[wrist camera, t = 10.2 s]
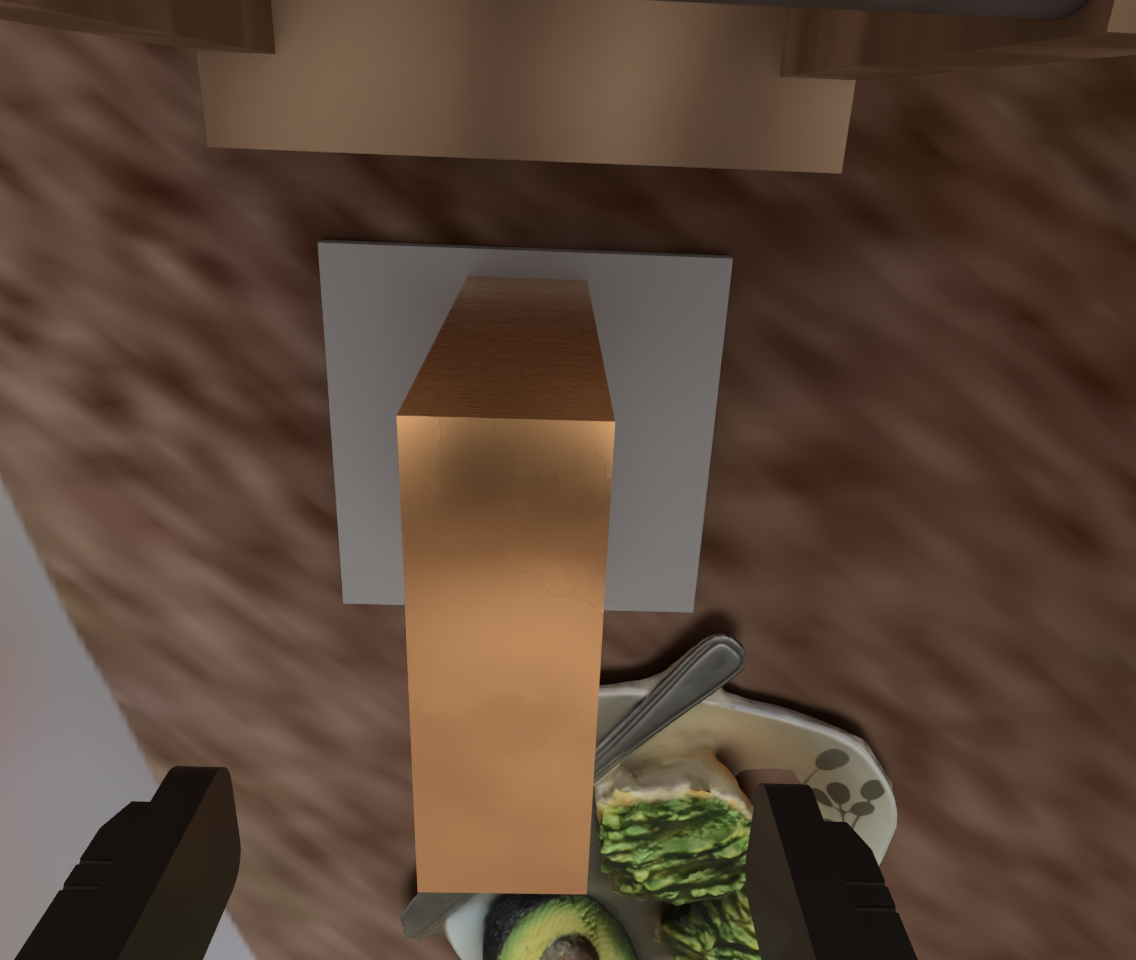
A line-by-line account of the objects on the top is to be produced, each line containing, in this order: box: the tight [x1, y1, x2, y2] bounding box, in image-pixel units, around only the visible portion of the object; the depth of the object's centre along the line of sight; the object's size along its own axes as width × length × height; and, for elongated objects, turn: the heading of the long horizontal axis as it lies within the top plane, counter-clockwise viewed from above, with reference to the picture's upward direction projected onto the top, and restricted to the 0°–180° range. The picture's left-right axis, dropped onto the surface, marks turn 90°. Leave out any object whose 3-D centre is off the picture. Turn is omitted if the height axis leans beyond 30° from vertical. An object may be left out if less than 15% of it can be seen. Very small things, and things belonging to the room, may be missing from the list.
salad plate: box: [400, 634, 898, 960], centre depth 33 cm, size 19×18×5 cm
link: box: [397, 276, 615, 894], centre depth 22 cm, size 4×10×12 cm, turn 178°
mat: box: [318, 240, 733, 613], centre depth 28 cm, size 12×12×1 cm
